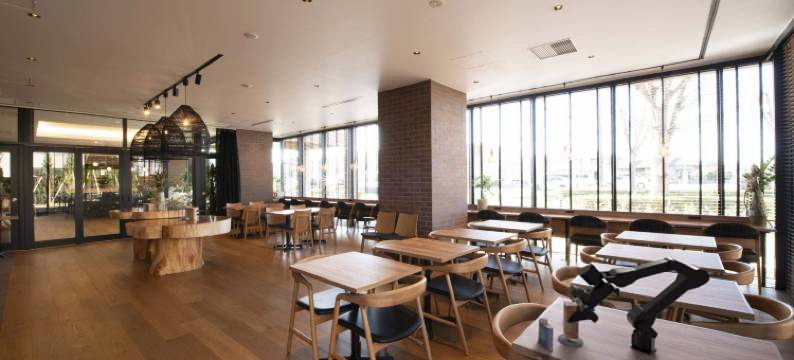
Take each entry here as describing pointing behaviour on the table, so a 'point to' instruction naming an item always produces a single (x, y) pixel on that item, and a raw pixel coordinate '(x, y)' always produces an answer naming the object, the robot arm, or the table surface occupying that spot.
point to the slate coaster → (570, 341)
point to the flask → (545, 334)
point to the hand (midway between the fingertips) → (567, 319)
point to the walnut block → (568, 328)
